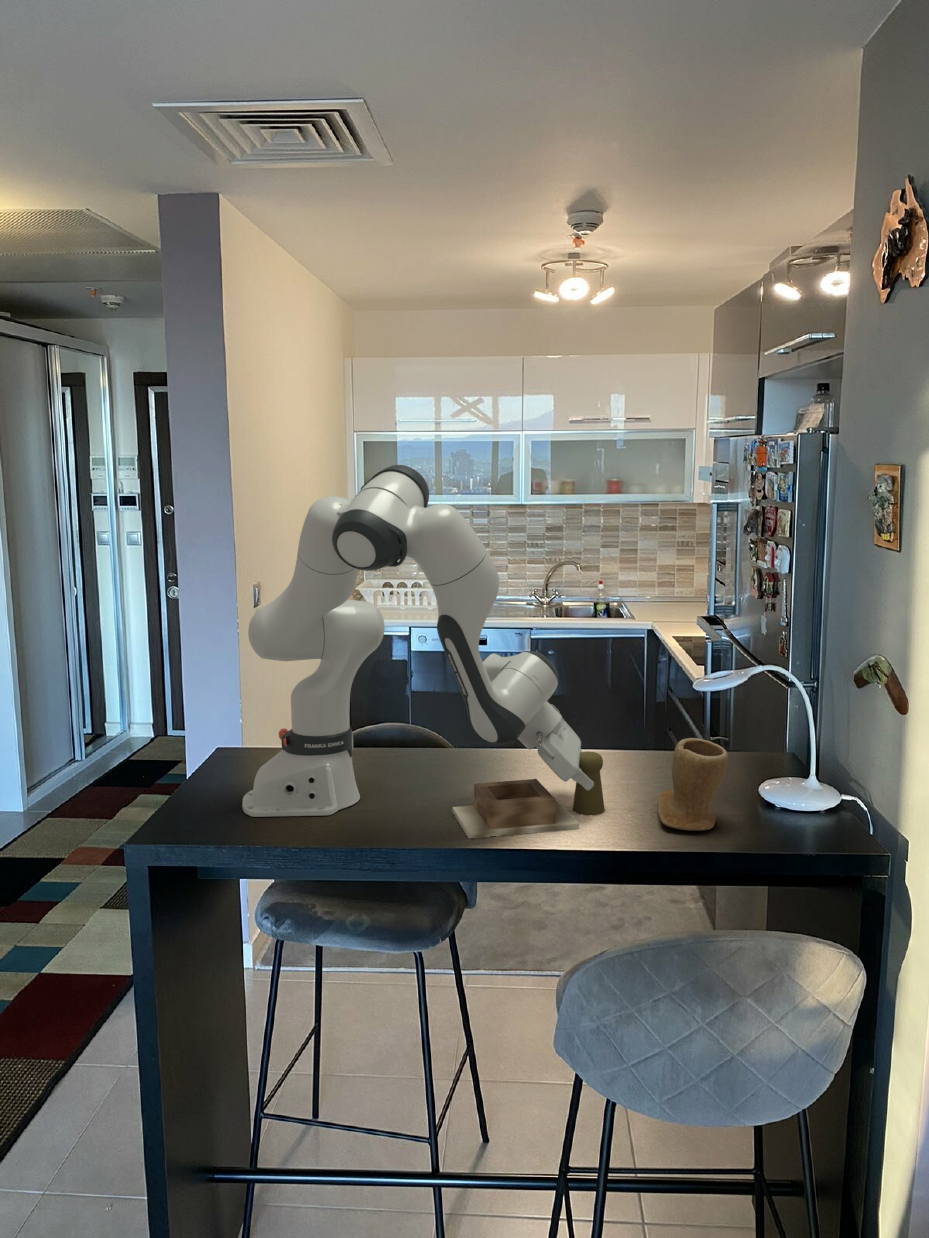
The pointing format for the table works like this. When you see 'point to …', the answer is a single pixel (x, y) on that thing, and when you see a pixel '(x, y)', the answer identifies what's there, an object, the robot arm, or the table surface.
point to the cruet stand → (512, 810)
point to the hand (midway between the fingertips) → (591, 779)
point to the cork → (593, 798)
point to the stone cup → (693, 785)
